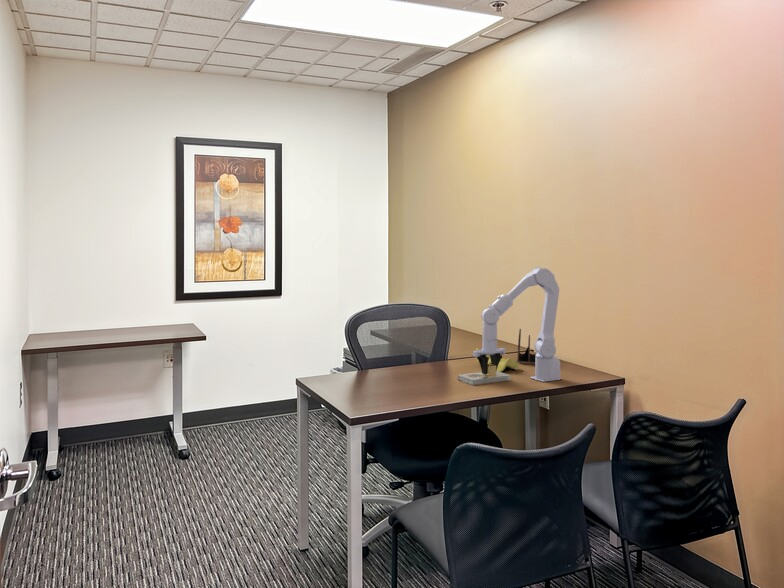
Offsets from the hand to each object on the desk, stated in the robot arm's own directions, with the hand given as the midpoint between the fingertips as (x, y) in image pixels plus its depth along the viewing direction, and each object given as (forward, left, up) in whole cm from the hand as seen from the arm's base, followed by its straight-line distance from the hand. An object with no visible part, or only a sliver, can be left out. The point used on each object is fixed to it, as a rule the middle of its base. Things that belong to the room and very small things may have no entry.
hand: (489, 373), depth 244 cm
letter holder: (-41, -24, -3) cm, 47 cm away
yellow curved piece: (-17, -17, -3) cm, 24 cm away
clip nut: (0, 0, 0) cm, 0 cm away
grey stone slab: (+3, 0, -2) cm, 4 cm away
